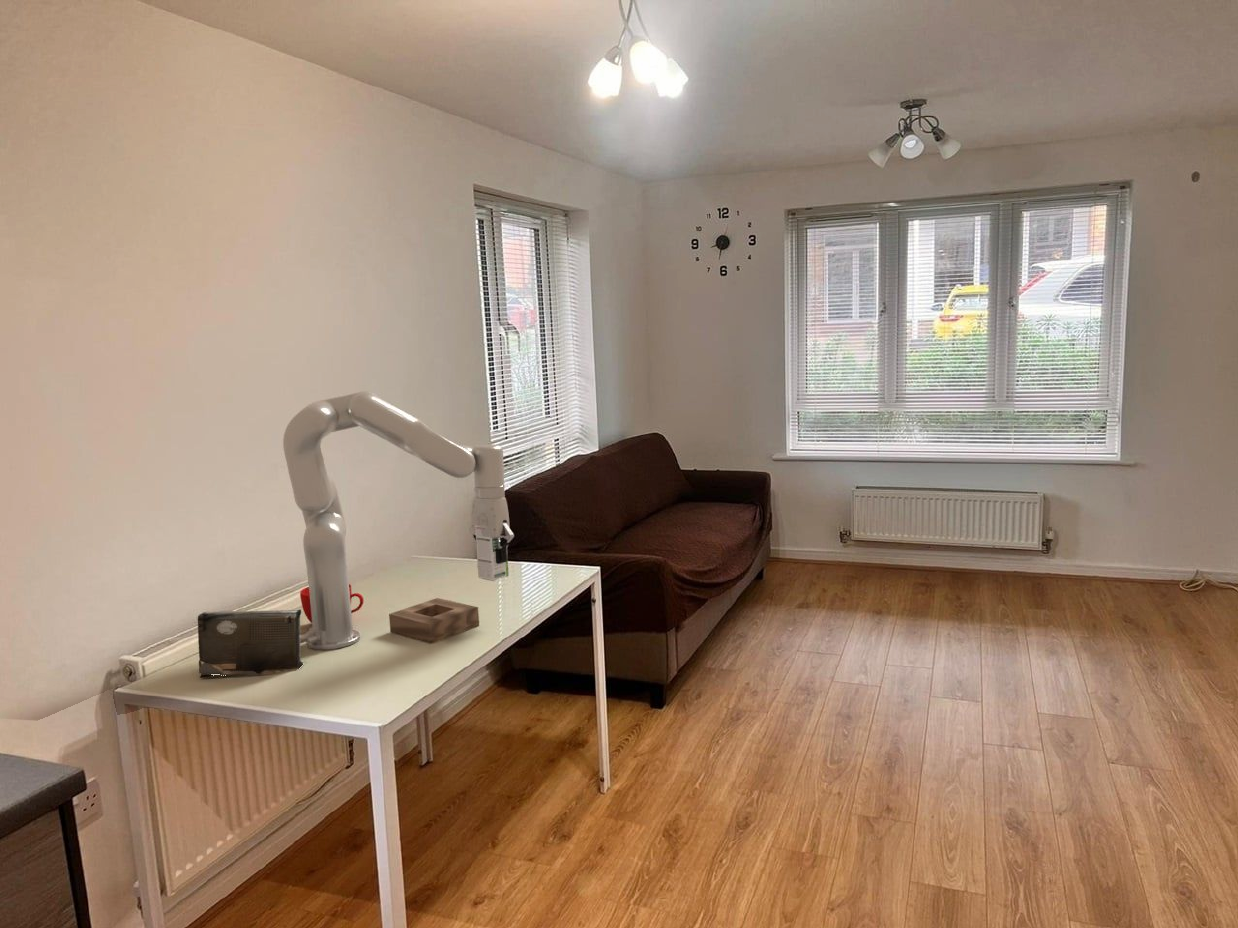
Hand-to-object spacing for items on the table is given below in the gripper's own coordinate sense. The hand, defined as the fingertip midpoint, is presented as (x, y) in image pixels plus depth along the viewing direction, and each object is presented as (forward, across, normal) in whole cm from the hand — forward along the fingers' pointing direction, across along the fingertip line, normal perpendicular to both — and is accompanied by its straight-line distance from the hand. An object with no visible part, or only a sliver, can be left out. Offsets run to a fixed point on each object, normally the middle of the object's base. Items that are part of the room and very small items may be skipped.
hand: (492, 560), depth 227 cm
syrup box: (+5, 0, 0) cm, 5 cm away
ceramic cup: (+18, -35, -24) cm, 46 cm away
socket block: (+17, -9, -12) cm, 23 cm away
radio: (+18, -24, -54) cm, 62 cm away
